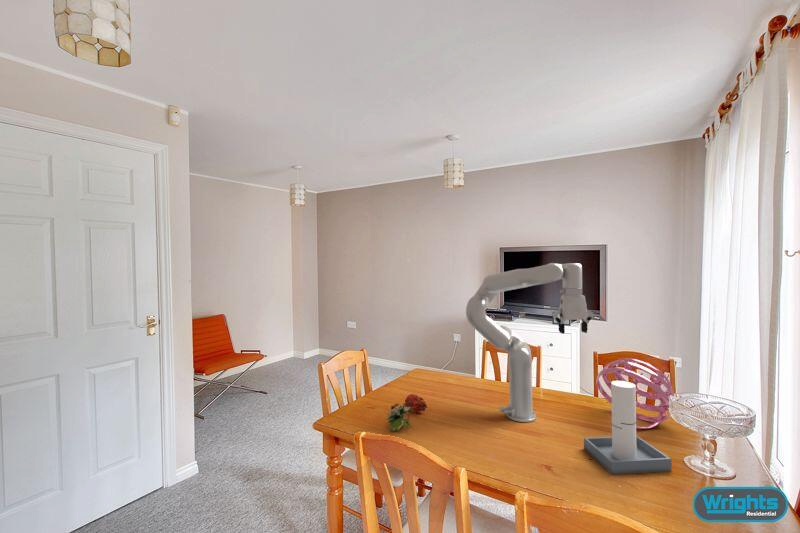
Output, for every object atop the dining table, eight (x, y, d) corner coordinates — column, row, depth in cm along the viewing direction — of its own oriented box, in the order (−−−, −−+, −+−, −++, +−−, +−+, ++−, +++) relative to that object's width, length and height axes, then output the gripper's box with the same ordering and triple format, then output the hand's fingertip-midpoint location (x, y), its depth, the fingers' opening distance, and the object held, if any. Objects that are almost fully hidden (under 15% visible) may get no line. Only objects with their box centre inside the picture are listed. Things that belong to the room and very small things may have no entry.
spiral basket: (632, 393, 132) (659, 343, 144) (571, 388, 157) (598, 346, 169) (676, 450, 134) (699, 396, 146) (609, 437, 159) (633, 391, 171)
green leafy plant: (395, 436, 155) (400, 407, 162) (415, 438, 149) (420, 408, 156) (379, 429, 149) (385, 400, 155) (400, 431, 142) (405, 400, 149)
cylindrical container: (636, 464, 120) (635, 389, 119) (612, 458, 123) (610, 385, 123) (636, 454, 126) (635, 382, 125) (612, 448, 129) (611, 379, 129)
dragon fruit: (405, 411, 173) (425, 421, 165) (397, 405, 167) (418, 415, 159) (412, 394, 176) (433, 403, 168) (405, 388, 170) (426, 397, 163)
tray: (612, 474, 116) (611, 462, 116) (584, 448, 132) (583, 437, 132) (671, 471, 117) (671, 458, 117) (636, 446, 133) (636, 435, 133)
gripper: (556, 293, 148) (557, 335, 149) (597, 292, 149) (598, 333, 149) (548, 292, 156) (549, 331, 156) (587, 291, 157) (587, 330, 157)
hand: (573, 332), depth 153 cm, fingers open, 9 cm apart
